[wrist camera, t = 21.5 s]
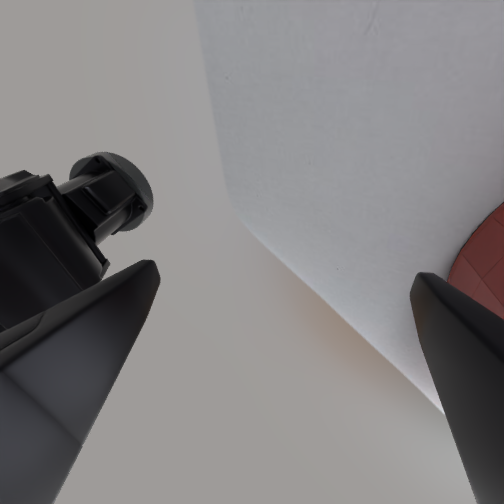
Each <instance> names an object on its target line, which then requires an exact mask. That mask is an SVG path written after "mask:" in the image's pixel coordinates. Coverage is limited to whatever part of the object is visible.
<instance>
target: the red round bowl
mask: <svg viewBox="0 0 504 504" xmlns="http://www.w3.org/2000/svg"><path fill="white" fill-rule="evenodd" d="M447 282H448V283H449V284H451V285H452V286H454V287H455V288H457V289H458V290H460V291H461V292H463V293H464V294H466V295H467V296H469V297H471V298H472V299H474V300H475V301H477V302H478V303H480V304H481V305H483V306H484V307H486V308H487V309H489V310H490V311H492V312H493V313H495V314H496V315H498V316H499V317H501V318H502V319H504V203H503V204H501V205H500V206H499V207H498V208H497V209H496V210H495V211H494V212H493V213H491V214H490V215H489V217H488V218H487V219H486V220H485V221H484V222H483V223H482V224H481V225H480V226H479V228H478V229H477V230H476V231H475V232H474V233H473V234H472V236H471V237H470V238H469V240H468V241H467V243H466V244H465V245H464V247H463V248H462V250H461V251H460V253H459V255H458V257H457V259H456V260H455V262H454V264H453V266H452V269H451V271H450V274H449V277H448V280H447Z"/></svg>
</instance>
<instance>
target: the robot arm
mask: <svg viewBox="0 0 504 504" xmlns="http://www.w3.org/2000/svg"><path fill="white" fill-rule="evenodd" d="M98 159H100V161H101V162H100V161H99V160H98ZM52 181H53V179H52V178H51V176H50V175H49V174H47V175H43V176H39V175H33V174H31V173H29V172H27V171H25V170H23V171H19V172H16V173H14V174H11V175H8V176H5V177H3V178H0V504H54V502H55V500H56V498H57V496H58V494H59V492H60V490H61V488H62V486H63V484H64V482H65V480H66V478H67V476H68V474H69V472H70V470H71V468H72V466H73V464H74V462H75V461H76V459H77V457H78V454H79V453H80V451H81V448H82V445H83V444H84V442H85V440H86V438H87V436H88V434H89V432H90V430H91V428H92V426H93V424H94V422H95V420H96V418H97V416H98V414H99V412H100V410H101V408H102V406H103V404H104V402H105V400H106V398H107V396H108V394H109V392H110V390H111V388H112V386H113V384H114V382H115V381H116V379H117V377H118V374H119V373H120V370H121V368H122V367H123V365H124V363H125V361H126V359H127V356H128V354H129V353H130V351H131V349H132V347H133V345H134V343H135V341H136V338H137V336H138V335H139V333H140V331H141V329H142V327H143V325H144V323H145V321H146V318H147V316H148V314H149V311H150V309H151V306H152V303H153V300H154V298H155V295H156V292H157V290H158V287H159V285H160V275H159V272H158V269H157V266H156V264H155V262H154V261H153V260H141V261H139V262H137V263H135V264H133V265H131V266H129V267H127V268H126V269H124V270H122V271H120V272H118V273H116V274H114V275H112V276H110V277H108V278H106V279H105V280H103V281H101V280H102V278H103V276H104V274H105V273H106V271H107V269H108V267H109V266H110V262H109V261H108V259H106V258H105V257H104V255H103V254H102V253H101V251H100V250H99V248H98V247H97V245H98V244H100V243H101V242H102V241H103V240H104V239H106V238H107V237H108V236H109V235H114V234H116V233H117V232H118V231H120V230H121V229H123V228H124V227H125V226H127V225H128V224H130V223H131V222H132V221H134V220H135V219H137V218H138V217H139V216H141V215H142V214H143V213H145V212H146V211H147V210H148V206H147V204H146V203H145V202H144V201H143V200H142V199H141V198H140V196H139V195H138V194H137V193H136V192H135V191H134V190H133V189H132V188H131V186H130V185H129V184H128V183H127V182H126V181H125V180H124V179H123V178H122V176H121V175H120V174H119V173H118V172H117V171H116V170H115V169H114V168H113V167H112V165H111V164H110V163H109V162H108V161H107V160H106V159H105V158H104V157H103V156H102V155H100V154H98V155H95V156H94V157H93V158H92V159H91V160H90V161H89V162H88V163H87V164H86V165H85V166H84V167H83V168H82V169H81V170H80V171H79V172H78V173H77V174H76V175H75V176H74V177H73V178H72V179H71V180H70V181H68V182H66V183H64V184H62V185H60V186H57V187H56V186H55V184H54V183H53V182H52ZM141 206H142V207H143V208H144V209H143V208H142V207H141ZM410 301H411V306H412V310H413V315H414V319H415V324H416V328H417V333H418V337H419V341H420V344H421V347H422V350H423V353H424V356H425V359H426V362H427V364H428V367H429V370H430V373H431V376H432V378H433V381H434V384H435V387H436V390H437V392H438V395H439V398H440V401H441V404H442V406H443V409H444V412H445V415H446V418H447V420H448V423H449V426H450V429H451V432H452V434H453V437H454V440H455V443H456V446H457V449H458V451H459V454H460V457H461V460H462V462H463V465H464V468H465V471H466V474H467V477H468V479H469V482H470V485H471V488H472V491H473V493H474V496H475V499H476V502H477V504H504V319H502V318H501V317H499V316H498V315H496V314H495V313H493V312H492V311H490V310H489V309H487V308H486V307H484V306H483V305H481V304H480V303H478V302H477V301H475V300H474V299H472V298H471V297H469V296H467V295H466V294H464V293H463V292H461V291H460V290H458V289H457V288H455V287H454V286H452V285H451V284H449V283H448V282H446V281H445V280H443V279H442V278H440V277H439V276H437V275H436V274H434V273H424V272H420V273H418V274H417V275H416V277H415V280H414V283H413V285H412V288H411V291H410Z"/></svg>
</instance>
